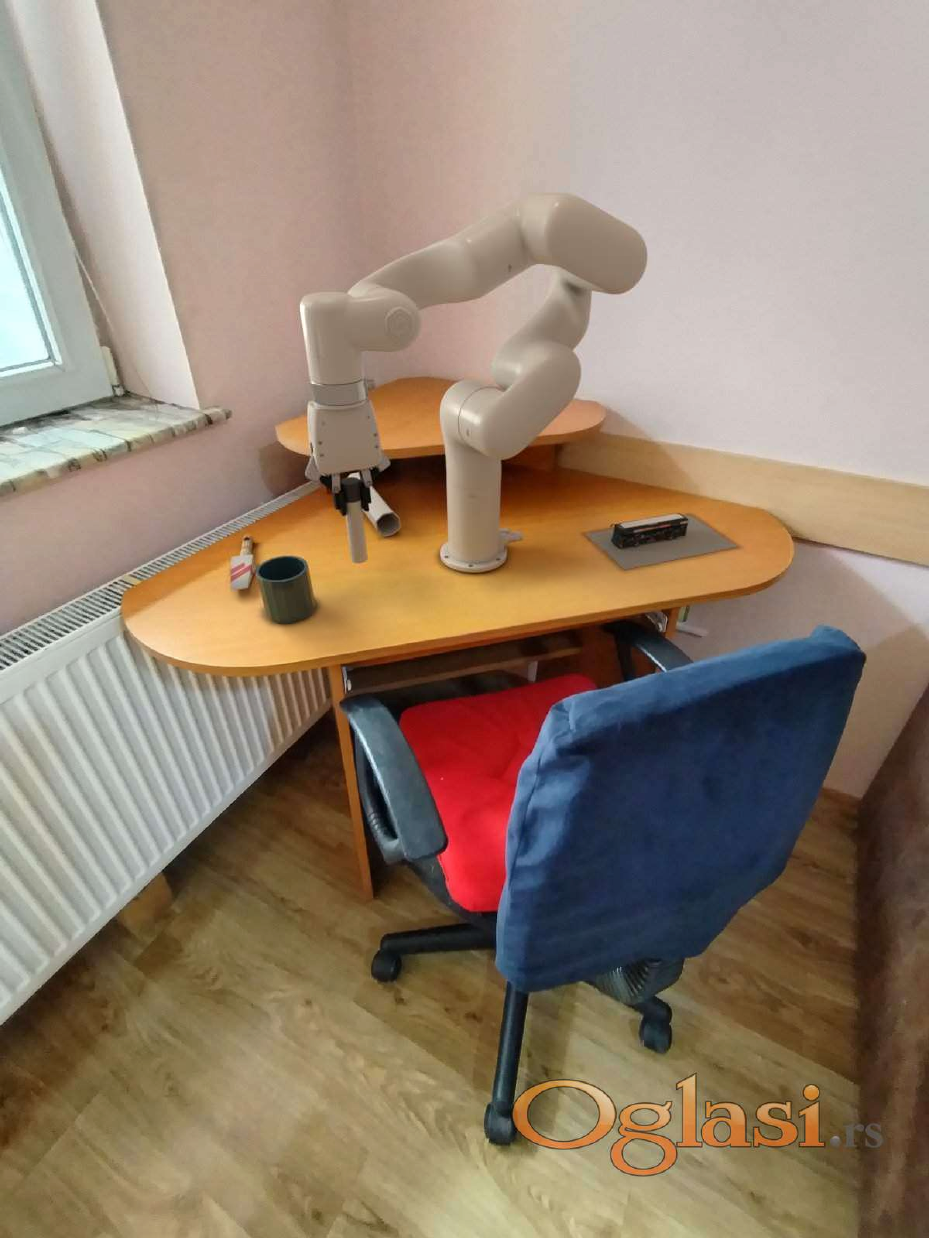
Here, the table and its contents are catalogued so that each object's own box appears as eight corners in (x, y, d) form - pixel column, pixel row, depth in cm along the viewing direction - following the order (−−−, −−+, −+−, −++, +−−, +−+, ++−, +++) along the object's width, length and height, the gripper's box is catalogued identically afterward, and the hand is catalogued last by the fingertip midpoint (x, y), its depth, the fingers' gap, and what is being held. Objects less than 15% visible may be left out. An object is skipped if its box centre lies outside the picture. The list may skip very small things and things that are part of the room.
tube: (338, 475, 135) (371, 520, 116) (358, 464, 135) (395, 507, 117) (348, 495, 138) (381, 541, 120) (368, 484, 139) (405, 528, 120)
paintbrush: (224, 583, 100) (237, 533, 116) (228, 596, 102) (240, 545, 118) (248, 580, 101) (257, 530, 117) (252, 594, 102) (260, 543, 118)
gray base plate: (586, 534, 120) (588, 515, 117) (691, 515, 126) (695, 496, 124) (624, 569, 108) (627, 549, 106) (737, 547, 115) (743, 527, 112)
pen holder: (309, 591, 103) (301, 551, 99) (320, 616, 98) (312, 574, 93) (262, 602, 101) (252, 562, 96) (270, 628, 95) (260, 586, 90)
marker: (365, 553, 102) (356, 475, 94) (370, 561, 100) (362, 482, 92) (348, 556, 101) (338, 479, 93) (353, 565, 99) (343, 486, 91)
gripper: (385, 379, 90) (394, 492, 101) (275, 391, 84) (297, 510, 95) (402, 391, 84) (409, 510, 95) (285, 406, 79) (307, 530, 90)
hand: (353, 509), depth 95 cm, fingers closed on marker, 3 cm apart
